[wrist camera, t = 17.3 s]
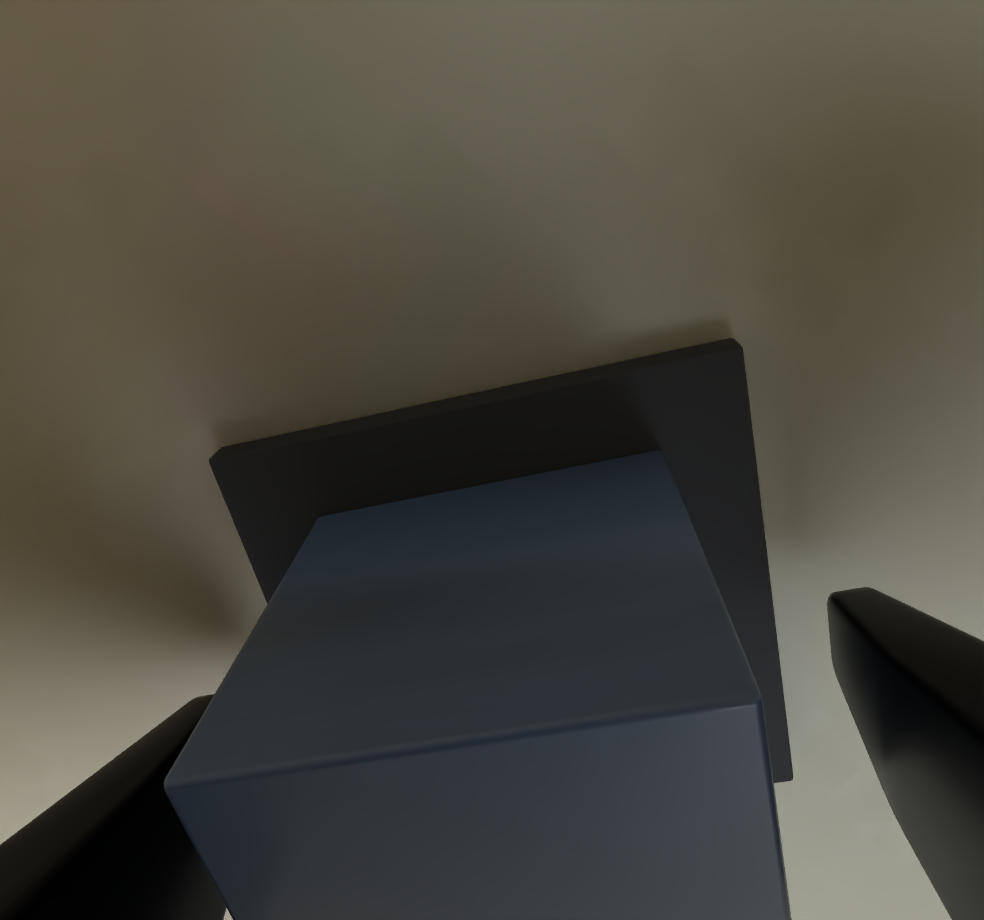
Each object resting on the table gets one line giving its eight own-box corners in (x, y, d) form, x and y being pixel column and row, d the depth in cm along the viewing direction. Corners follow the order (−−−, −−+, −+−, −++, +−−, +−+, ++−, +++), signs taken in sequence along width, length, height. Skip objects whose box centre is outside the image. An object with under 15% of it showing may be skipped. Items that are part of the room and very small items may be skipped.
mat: (785, 759, 10) (794, 781, 10) (368, 815, 11) (363, 838, 11) (734, 336, 8) (744, 345, 8) (219, 446, 9) (206, 460, 9)
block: (709, 730, 10) (815, 1093, 6) (411, 772, 10) (339, 1128, 7) (662, 447, 8) (763, 695, 4) (317, 515, 9) (155, 785, 5)
